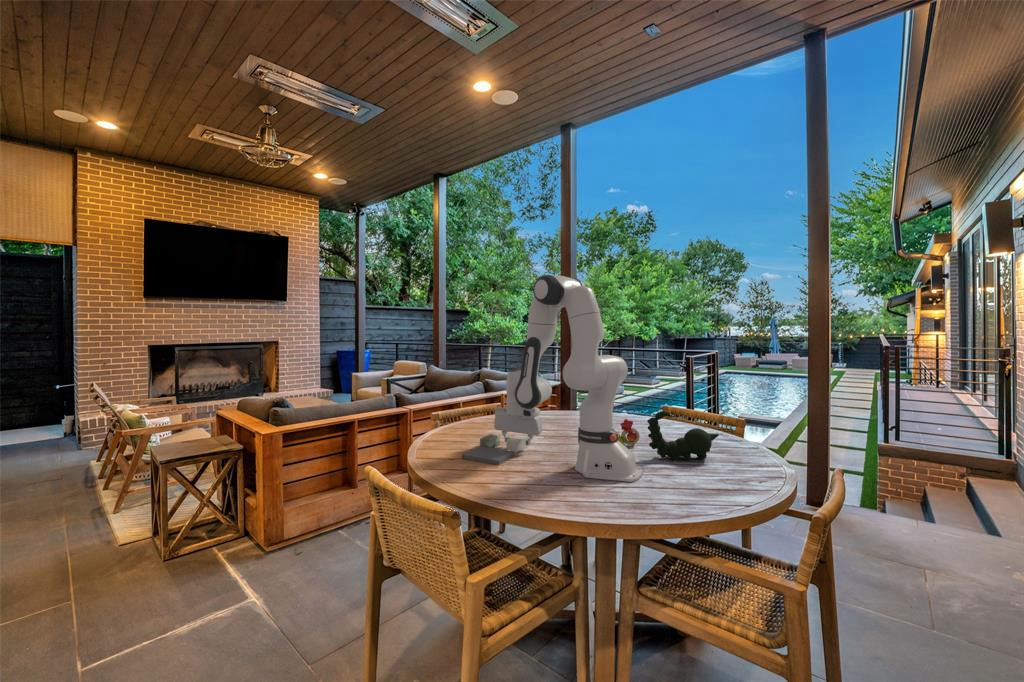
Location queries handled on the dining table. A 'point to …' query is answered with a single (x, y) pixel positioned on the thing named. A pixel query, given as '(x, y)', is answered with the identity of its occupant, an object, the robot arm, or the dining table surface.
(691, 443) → the toy figurine
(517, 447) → the cream brick
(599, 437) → the robot arm
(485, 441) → the sage brick
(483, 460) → the base plate
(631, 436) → the bird rattle
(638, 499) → the dining table surface
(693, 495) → the dining table surface
